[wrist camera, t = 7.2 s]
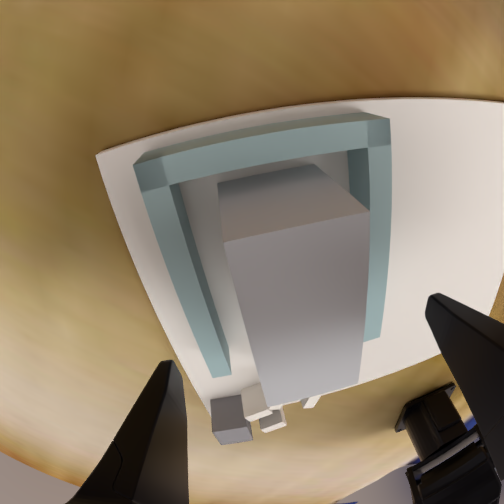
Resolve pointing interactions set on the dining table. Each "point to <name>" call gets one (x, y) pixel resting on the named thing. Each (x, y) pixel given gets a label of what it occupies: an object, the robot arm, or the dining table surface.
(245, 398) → the clips
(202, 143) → the holder
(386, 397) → the dining table surface
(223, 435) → the grey blocky piece
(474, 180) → the board
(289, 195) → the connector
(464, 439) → the robot arm
